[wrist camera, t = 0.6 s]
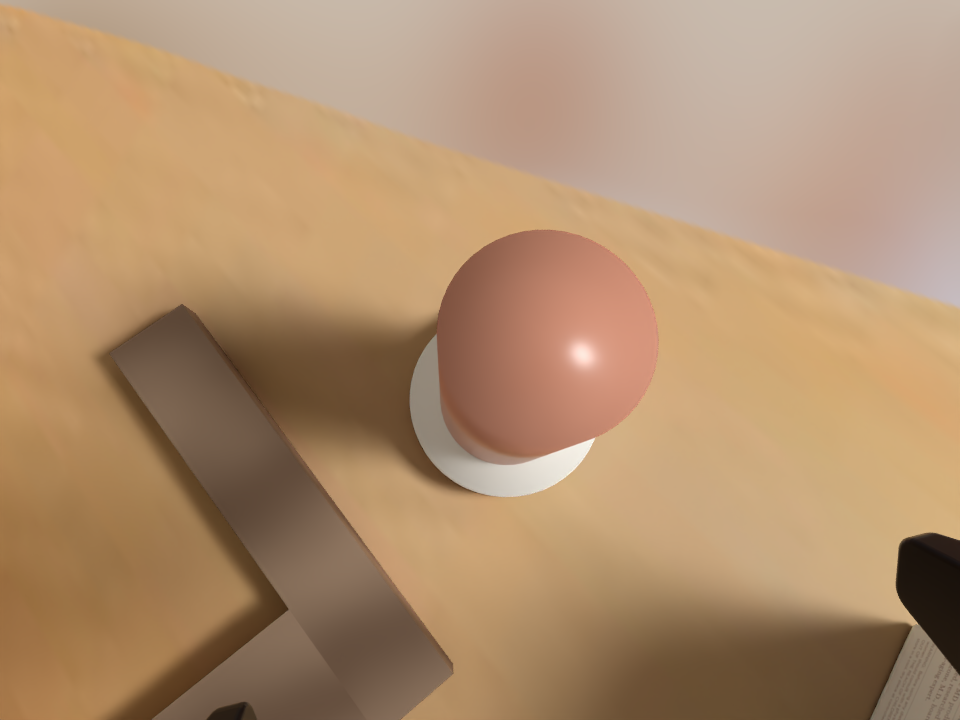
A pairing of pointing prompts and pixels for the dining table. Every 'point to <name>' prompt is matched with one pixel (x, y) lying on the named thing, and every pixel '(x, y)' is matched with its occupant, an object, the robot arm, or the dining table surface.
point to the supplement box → (920, 684)
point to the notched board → (281, 550)
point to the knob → (531, 361)
